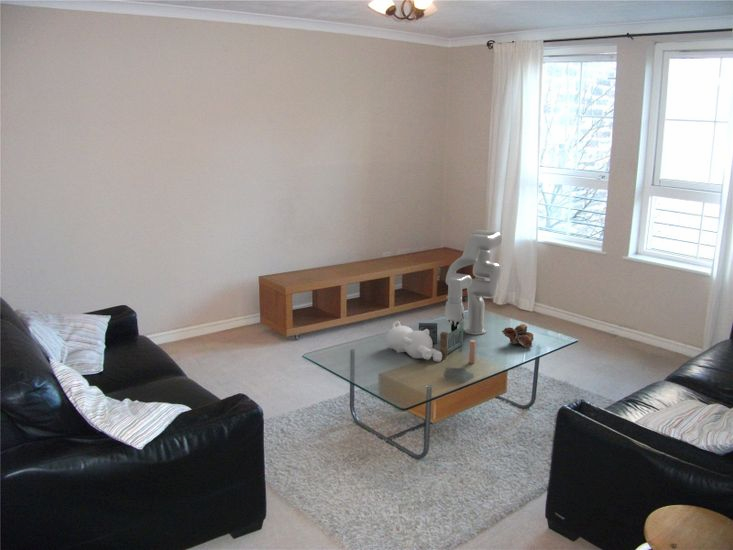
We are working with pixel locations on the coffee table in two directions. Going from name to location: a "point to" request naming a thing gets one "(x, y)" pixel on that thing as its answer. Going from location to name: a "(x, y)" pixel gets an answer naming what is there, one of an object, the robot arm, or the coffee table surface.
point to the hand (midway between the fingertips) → (454, 331)
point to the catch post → (472, 351)
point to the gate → (454, 339)
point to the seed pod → (519, 335)
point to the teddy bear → (412, 342)
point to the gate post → (443, 344)
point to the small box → (430, 330)
